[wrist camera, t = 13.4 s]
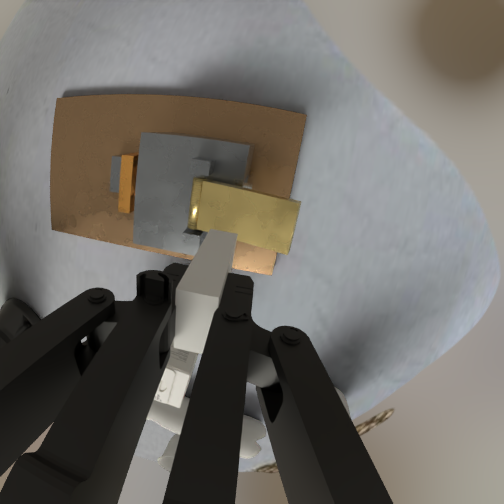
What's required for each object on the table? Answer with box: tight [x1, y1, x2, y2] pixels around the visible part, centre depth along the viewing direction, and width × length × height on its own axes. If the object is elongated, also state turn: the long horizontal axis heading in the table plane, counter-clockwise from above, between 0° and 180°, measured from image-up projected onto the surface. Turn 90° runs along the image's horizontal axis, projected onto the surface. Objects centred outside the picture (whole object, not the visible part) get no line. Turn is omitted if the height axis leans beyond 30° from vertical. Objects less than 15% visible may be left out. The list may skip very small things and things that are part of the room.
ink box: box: [154, 339, 198, 408], centre depth 37 cm, size 9×8×12 cm
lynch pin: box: [118, 152, 253, 213], centre depth 29 cm, size 13×6×4 cm, turn 80°
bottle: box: [146, 396, 266, 459], centre depth 46 cm, size 9×9×30 cm
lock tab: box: [187, 177, 301, 255], centre depth 23 cm, size 9×4×1 cm, turn 80°
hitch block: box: [50, 94, 307, 275], centre depth 28 cm, size 34×20×11 cm, turn 80°
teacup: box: [157, 434, 180, 472], centre depth 51 cm, size 12×15×10 cm
